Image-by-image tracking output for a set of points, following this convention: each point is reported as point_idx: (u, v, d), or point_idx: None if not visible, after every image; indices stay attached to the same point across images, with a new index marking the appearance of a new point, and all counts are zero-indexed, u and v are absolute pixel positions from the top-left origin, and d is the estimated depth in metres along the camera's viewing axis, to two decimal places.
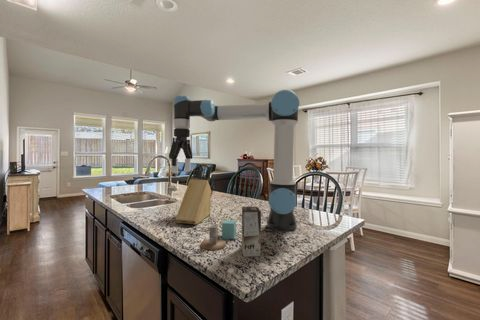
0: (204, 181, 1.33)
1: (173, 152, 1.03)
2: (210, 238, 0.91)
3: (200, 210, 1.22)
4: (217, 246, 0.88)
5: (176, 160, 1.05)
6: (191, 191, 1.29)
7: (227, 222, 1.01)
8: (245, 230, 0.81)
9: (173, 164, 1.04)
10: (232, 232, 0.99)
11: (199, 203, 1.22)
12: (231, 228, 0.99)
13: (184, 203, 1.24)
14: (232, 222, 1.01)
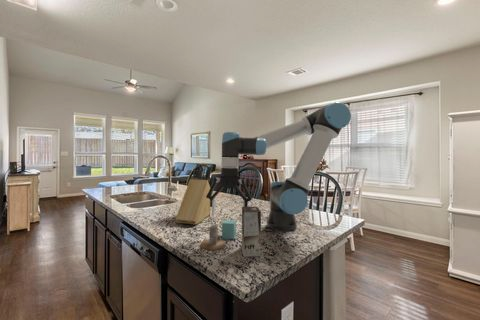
0: (204, 181, 1.33)
1: (208, 193, 1.03)
2: (210, 238, 0.91)
3: (200, 210, 1.22)
4: (217, 246, 0.88)
5: (212, 201, 1.02)
6: (191, 191, 1.29)
7: (227, 222, 1.01)
8: (245, 230, 0.81)
9: None
10: (232, 232, 0.99)
11: (199, 203, 1.22)
12: (231, 228, 0.99)
13: (184, 203, 1.23)
14: (232, 222, 1.01)
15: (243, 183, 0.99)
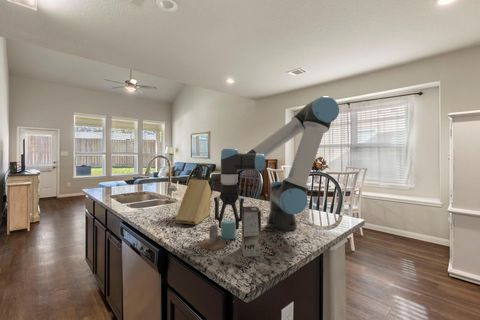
0: (204, 181, 1.33)
1: None
2: (210, 238, 0.91)
3: (200, 210, 1.22)
4: (217, 246, 0.88)
5: (221, 223, 1.01)
6: (191, 191, 1.29)
7: (227, 222, 1.01)
8: (245, 230, 0.81)
9: None
10: (232, 232, 0.99)
11: (198, 203, 1.22)
12: (231, 228, 0.99)
13: (184, 203, 1.23)
14: (232, 222, 1.01)
15: (241, 202, 1.00)
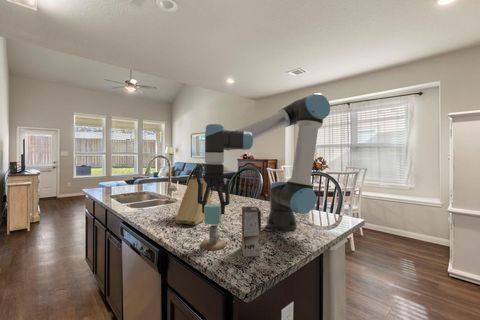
0: (204, 181, 1.32)
1: None
2: (210, 238, 0.91)
3: (200, 210, 1.22)
4: (217, 246, 0.88)
5: (204, 207, 0.91)
6: (191, 191, 1.28)
7: (211, 206, 0.90)
8: (245, 230, 0.81)
9: None
10: (216, 217, 0.89)
11: None
12: (215, 212, 0.89)
13: (184, 203, 1.23)
14: (216, 206, 0.91)
15: (227, 184, 0.89)
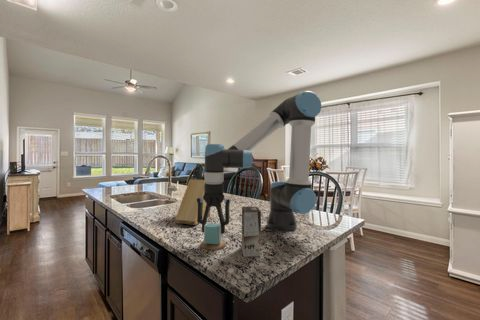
0: (204, 181, 1.32)
1: None
2: None
3: None
4: (217, 246, 0.88)
5: (204, 226, 0.91)
6: (191, 191, 1.28)
7: (211, 225, 0.91)
8: (245, 230, 0.81)
9: None
10: (216, 237, 0.89)
11: None
12: (215, 232, 0.89)
13: (184, 203, 1.23)
14: (216, 225, 0.91)
15: (227, 204, 0.89)
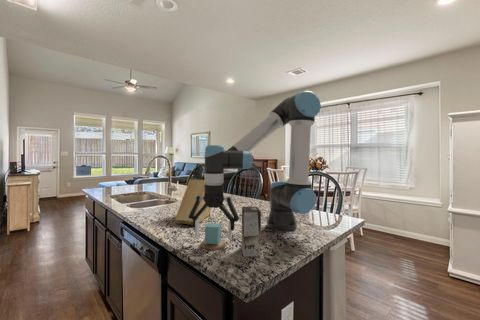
0: (204, 181, 1.32)
1: None
2: None
3: None
4: (217, 246, 0.88)
5: (195, 222, 0.92)
6: (190, 191, 1.28)
7: (211, 225, 0.91)
8: (245, 230, 0.81)
9: None
10: (216, 237, 0.89)
11: None
12: (215, 232, 0.89)
13: (184, 203, 1.23)
14: (216, 225, 0.91)
15: (229, 202, 0.89)
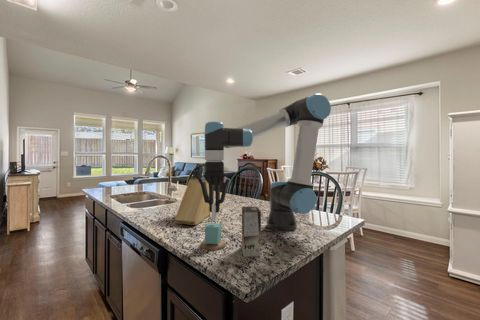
0: None
1: None
2: None
3: (199, 210, 1.21)
4: (217, 246, 0.88)
5: (211, 206, 0.91)
6: (190, 191, 1.28)
7: (211, 225, 0.91)
8: (245, 230, 0.81)
9: None
10: (216, 237, 0.89)
11: (198, 204, 1.21)
12: (215, 232, 0.89)
13: (184, 203, 1.23)
14: (216, 225, 0.91)
15: (226, 183, 0.90)
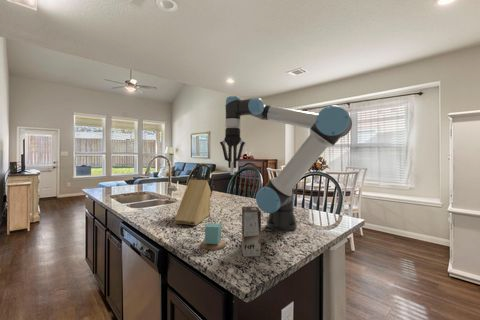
0: (203, 181, 1.32)
1: None
2: None
3: (199, 211, 1.21)
4: (217, 246, 0.88)
5: (230, 163, 1.16)
6: (190, 191, 1.28)
7: (211, 225, 0.91)
8: (245, 230, 0.81)
9: None
10: (216, 237, 0.89)
11: (198, 204, 1.21)
12: (215, 232, 0.89)
13: (184, 203, 1.22)
14: (216, 225, 0.91)
15: (242, 145, 1.14)
